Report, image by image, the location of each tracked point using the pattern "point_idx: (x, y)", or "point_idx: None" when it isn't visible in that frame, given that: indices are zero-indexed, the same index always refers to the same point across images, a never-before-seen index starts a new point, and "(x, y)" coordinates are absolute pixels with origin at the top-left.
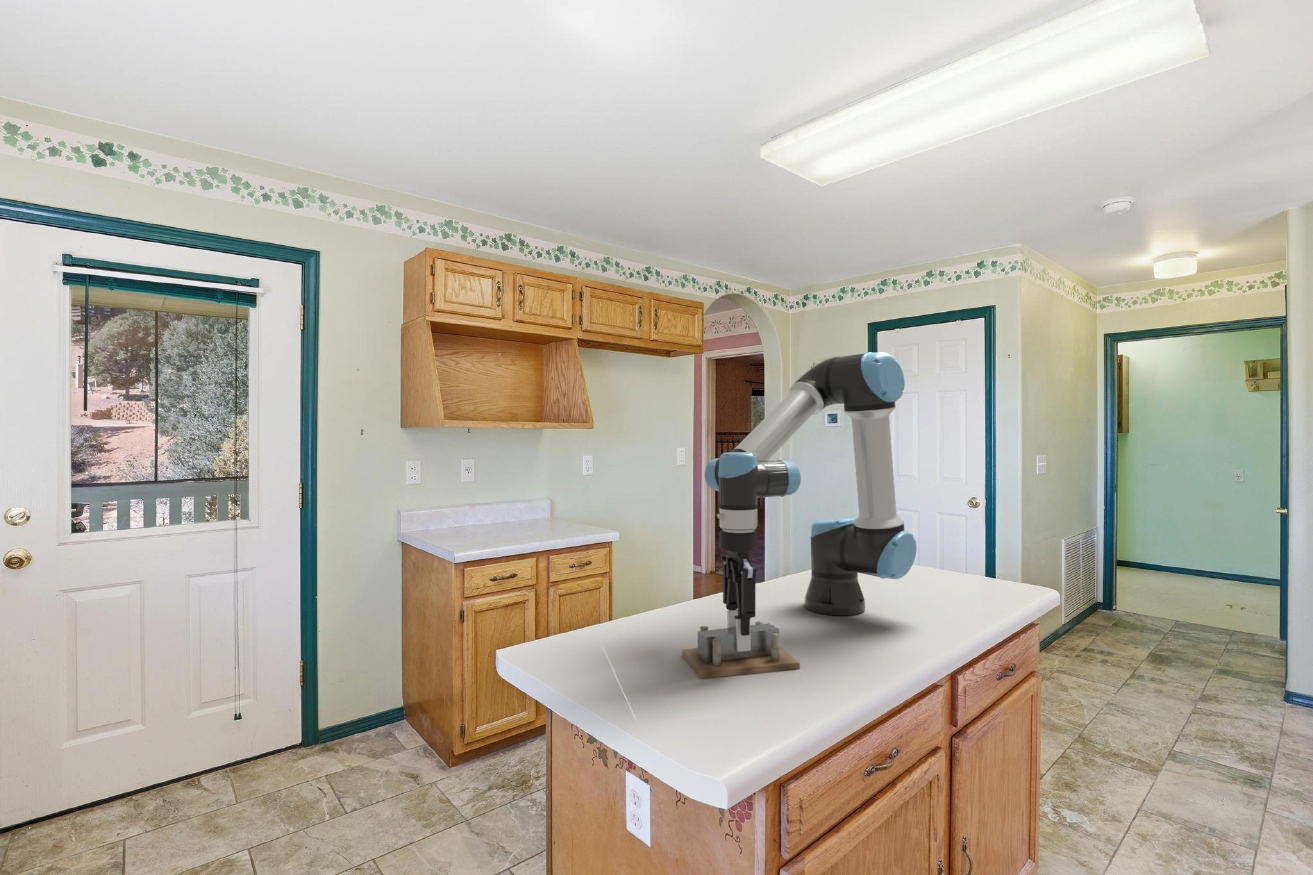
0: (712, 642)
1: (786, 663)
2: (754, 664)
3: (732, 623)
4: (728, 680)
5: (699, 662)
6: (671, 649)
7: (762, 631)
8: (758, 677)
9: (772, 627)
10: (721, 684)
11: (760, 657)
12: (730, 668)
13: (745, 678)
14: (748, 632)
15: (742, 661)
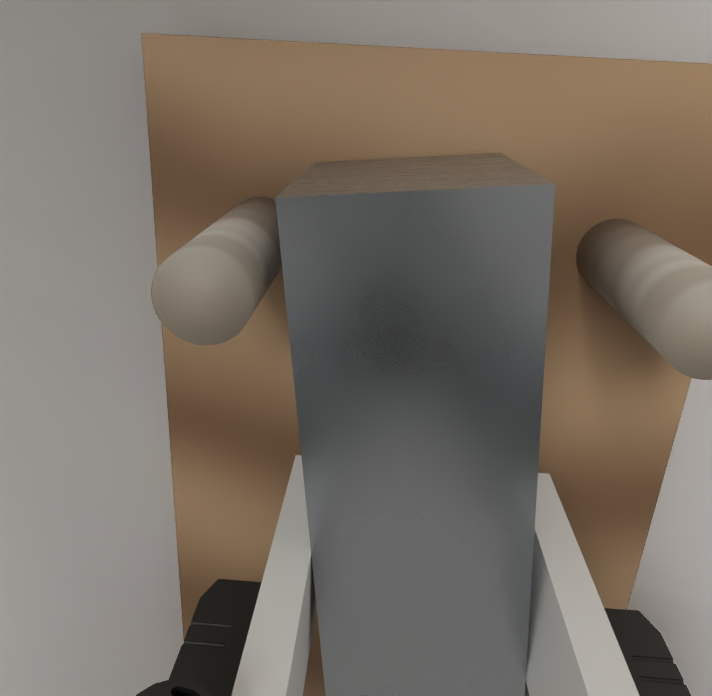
0: None
1: None
2: (622, 442)
3: (304, 662)
4: (653, 599)
5: None
6: (75, 685)
7: (537, 412)
8: (705, 433)
9: (467, 241)
10: (686, 647)
11: None
12: (613, 601)
13: (677, 509)
14: (659, 647)
15: None
